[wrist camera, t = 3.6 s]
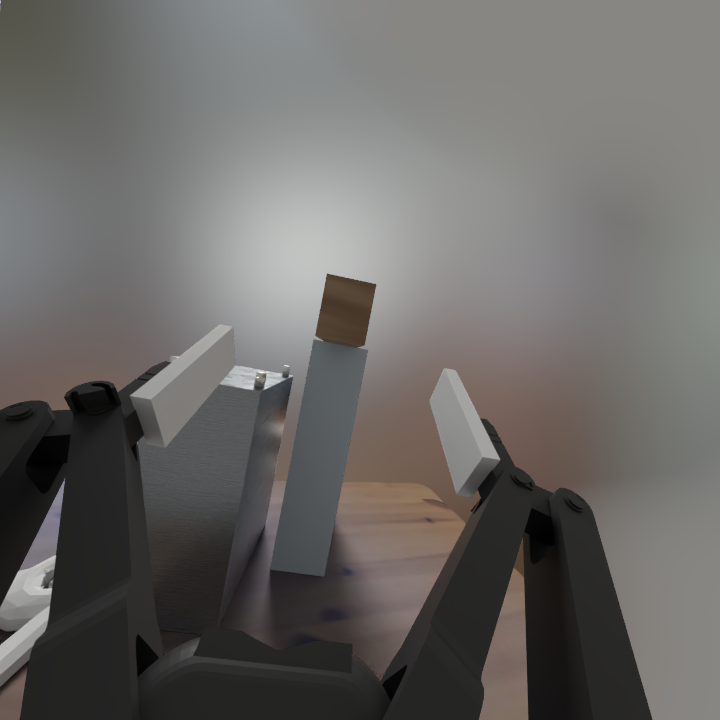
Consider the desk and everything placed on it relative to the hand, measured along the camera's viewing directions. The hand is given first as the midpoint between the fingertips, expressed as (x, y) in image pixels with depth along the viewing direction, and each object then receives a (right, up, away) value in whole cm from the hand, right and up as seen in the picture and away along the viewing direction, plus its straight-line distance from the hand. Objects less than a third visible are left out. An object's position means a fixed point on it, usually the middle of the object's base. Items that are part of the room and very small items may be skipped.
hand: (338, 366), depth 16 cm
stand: (-7, -27, +24) cm, 37 cm away
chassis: (-18, -25, +16) cm, 35 cm away
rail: (-1, +2, +18) cm, 19 cm away
